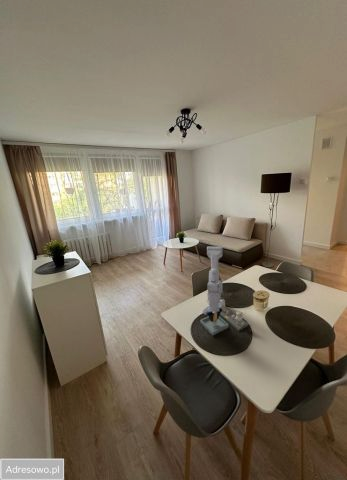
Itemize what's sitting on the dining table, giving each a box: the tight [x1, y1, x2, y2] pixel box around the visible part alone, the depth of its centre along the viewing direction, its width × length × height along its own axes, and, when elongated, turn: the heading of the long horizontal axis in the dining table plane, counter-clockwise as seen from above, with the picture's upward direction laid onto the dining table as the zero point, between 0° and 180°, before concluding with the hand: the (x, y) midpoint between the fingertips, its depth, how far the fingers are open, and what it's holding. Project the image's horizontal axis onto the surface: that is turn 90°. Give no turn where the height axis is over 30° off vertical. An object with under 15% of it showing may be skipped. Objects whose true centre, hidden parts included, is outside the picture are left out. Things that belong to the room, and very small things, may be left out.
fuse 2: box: [235, 310, 243, 325], centre depth 113 cm, size 4×4×7 cm
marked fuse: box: [212, 311, 217, 324], centre depth 114 cm, size 4×4×7 cm
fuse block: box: [219, 305, 249, 332], centre depth 120 cm, size 22×8×3 cm, turn 27°
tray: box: [199, 315, 230, 337], centre depth 115 cm, size 12×12×2 cm
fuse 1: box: [220, 298, 226, 311], centre depth 126 cm, size 4×4×7 cm
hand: (214, 319), depth 114 cm, fingers closed on marked fuse, 3 cm apart
